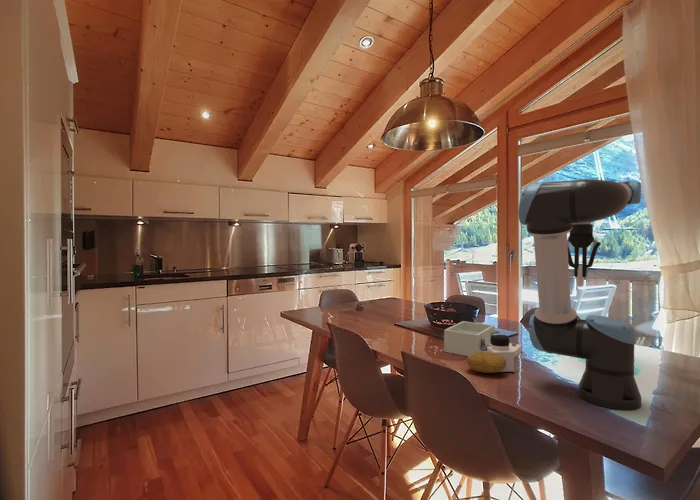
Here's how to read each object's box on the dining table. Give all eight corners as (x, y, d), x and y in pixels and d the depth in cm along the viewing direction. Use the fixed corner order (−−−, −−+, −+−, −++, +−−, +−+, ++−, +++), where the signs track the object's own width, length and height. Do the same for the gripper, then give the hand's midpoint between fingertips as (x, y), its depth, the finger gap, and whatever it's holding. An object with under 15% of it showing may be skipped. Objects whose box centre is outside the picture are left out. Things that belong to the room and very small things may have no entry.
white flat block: (508, 364, 142) (509, 353, 142) (479, 358, 149) (479, 348, 149) (521, 352, 156) (522, 342, 156) (494, 347, 163) (494, 338, 163)
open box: (487, 360, 145) (487, 336, 145) (444, 351, 156) (444, 329, 155) (503, 347, 161) (503, 326, 160) (462, 340, 171) (462, 321, 171)
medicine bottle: (515, 371, 131) (513, 337, 131) (494, 372, 131) (493, 337, 131) (507, 365, 138) (506, 332, 138) (487, 365, 138) (486, 333, 138)
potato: (472, 365, 139) (472, 346, 139) (508, 373, 131) (509, 353, 131) (463, 371, 131) (464, 351, 131) (502, 380, 124) (503, 359, 124)
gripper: (602, 223, 143) (601, 285, 144) (563, 224, 151) (562, 283, 152) (600, 223, 137) (599, 287, 138) (560, 223, 145) (559, 285, 146)
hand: (580, 285), depth 145 cm, fingers closed
